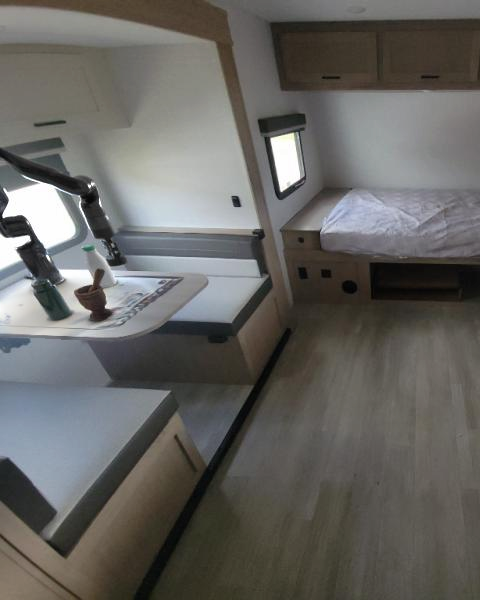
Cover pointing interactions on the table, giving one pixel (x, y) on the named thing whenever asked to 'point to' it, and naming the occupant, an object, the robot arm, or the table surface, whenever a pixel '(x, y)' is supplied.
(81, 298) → the mortar and pestle
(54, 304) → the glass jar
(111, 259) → the lid
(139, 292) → the table surface
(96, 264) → the milk bottle
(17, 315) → the table surface
